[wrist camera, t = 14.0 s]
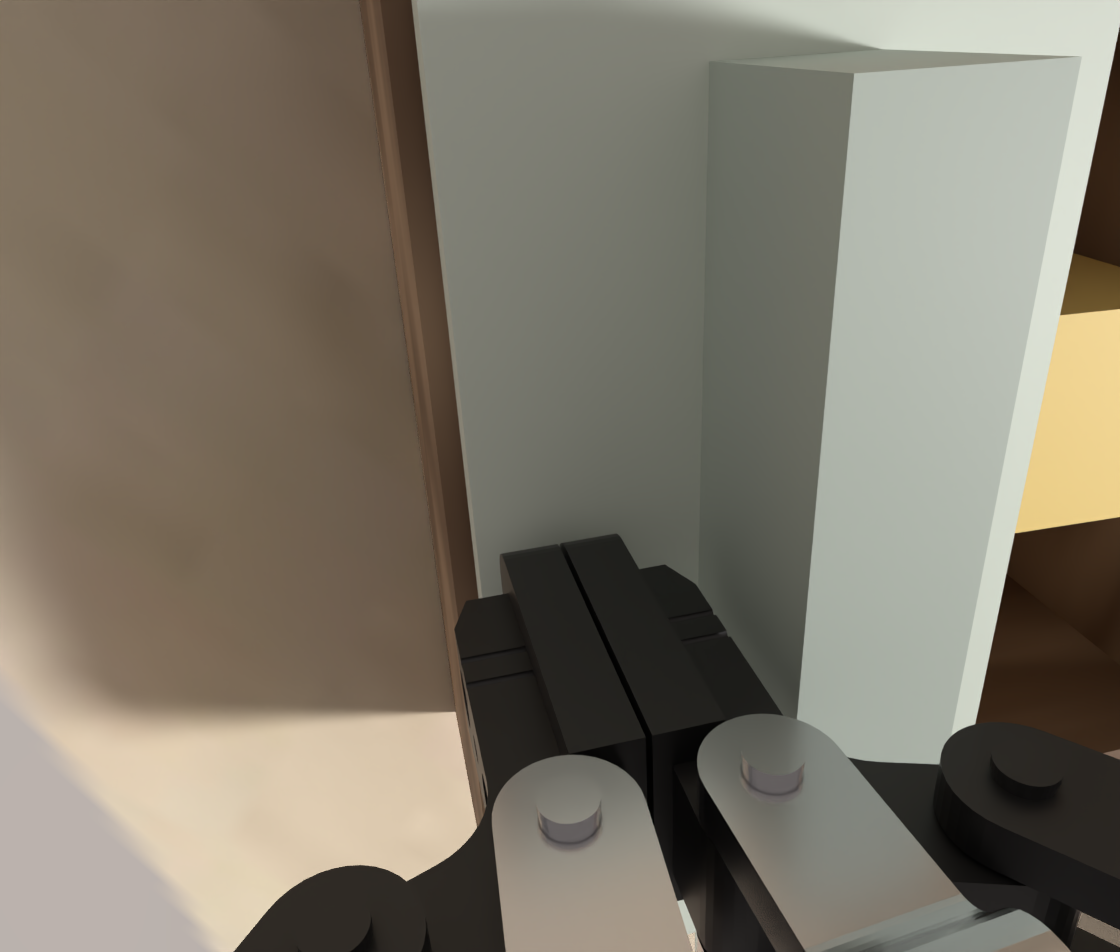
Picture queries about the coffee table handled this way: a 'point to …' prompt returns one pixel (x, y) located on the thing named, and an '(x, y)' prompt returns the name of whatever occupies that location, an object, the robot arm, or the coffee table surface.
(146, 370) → the coffee table surface
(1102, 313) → the block
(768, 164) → the slide cover
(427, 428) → the brown square open box
